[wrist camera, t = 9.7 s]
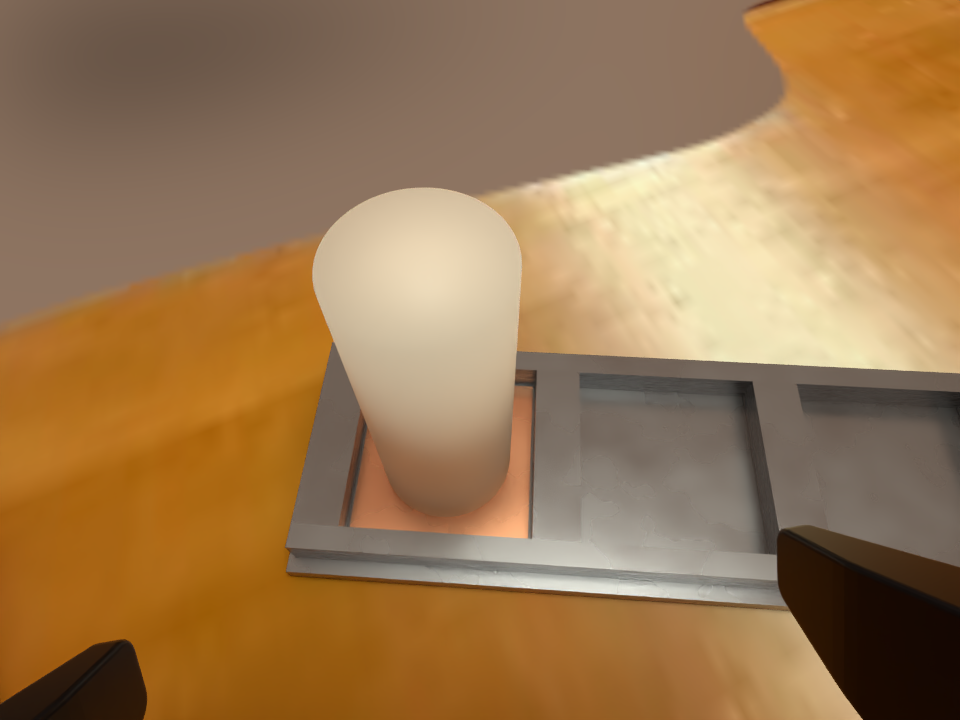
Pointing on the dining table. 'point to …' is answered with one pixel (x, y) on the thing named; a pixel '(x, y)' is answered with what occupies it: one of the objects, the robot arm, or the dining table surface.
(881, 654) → the robot arm
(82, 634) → the dining table surface
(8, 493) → the dining table surface
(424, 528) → the compartment tray
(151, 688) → the dining table surface
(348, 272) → the post
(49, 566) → the dining table surface
